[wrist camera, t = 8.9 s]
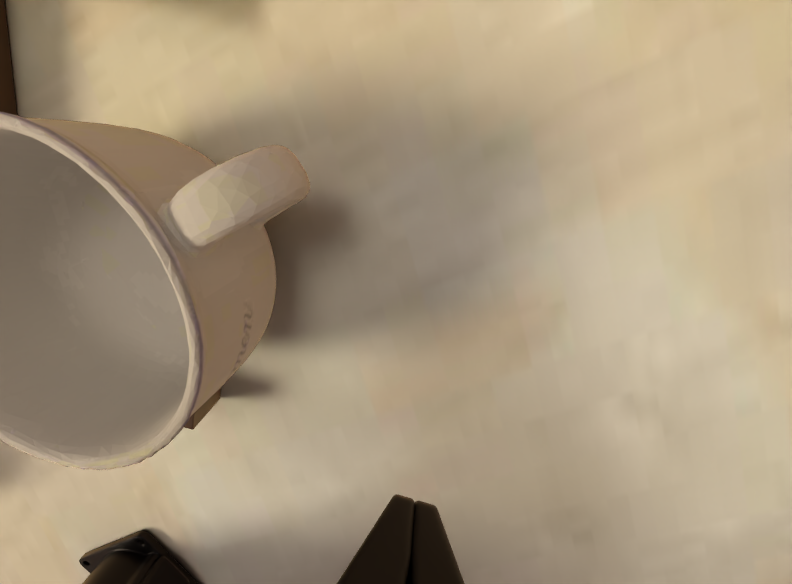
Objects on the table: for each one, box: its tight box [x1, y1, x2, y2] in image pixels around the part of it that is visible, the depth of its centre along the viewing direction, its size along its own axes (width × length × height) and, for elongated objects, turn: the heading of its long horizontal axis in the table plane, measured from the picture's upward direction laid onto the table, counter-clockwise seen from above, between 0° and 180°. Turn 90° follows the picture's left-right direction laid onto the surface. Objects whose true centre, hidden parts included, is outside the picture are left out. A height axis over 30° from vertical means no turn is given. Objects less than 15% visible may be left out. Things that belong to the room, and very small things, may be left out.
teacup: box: [0, 112, 310, 470], centre depth 15 cm, size 14×11×8 cm
